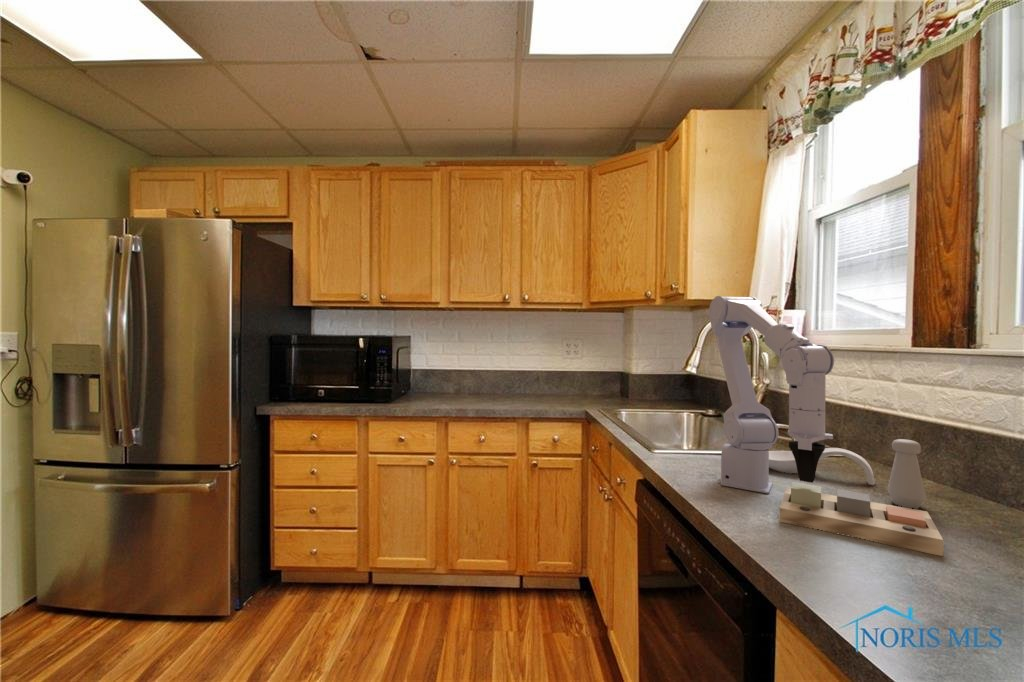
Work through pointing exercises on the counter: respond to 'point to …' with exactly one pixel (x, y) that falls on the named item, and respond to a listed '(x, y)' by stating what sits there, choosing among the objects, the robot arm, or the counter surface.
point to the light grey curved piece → (787, 463)
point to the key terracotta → (905, 516)
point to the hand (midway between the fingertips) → (806, 480)
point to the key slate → (853, 503)
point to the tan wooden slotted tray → (863, 524)
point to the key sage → (806, 494)
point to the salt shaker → (906, 475)
